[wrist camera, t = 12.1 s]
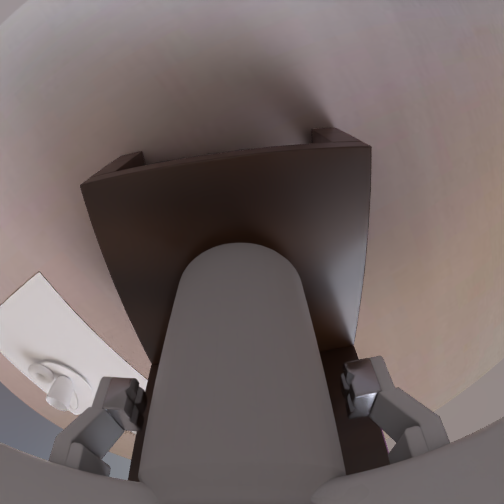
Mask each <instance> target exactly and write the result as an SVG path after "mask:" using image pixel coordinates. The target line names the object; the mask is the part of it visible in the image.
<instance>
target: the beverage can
mask: <svg viewBox="0 0 504 504" xmlns="http://www.w3.org/2000/svg"><path fill="white" fill-rule="evenodd" d="M341 476H346V472H345V467H344V462H343V456H342V452H341V447H340V442H339V437H338V432H337V427H336V423H335V418H334V414H333V409H332V404H331V400H330V396H329V391H328V387H327V382H326V378H325V374H324V370H323V365H322V361H321V357H320V353H319V349H318V345H317V341H316V337H315V333H314V329H313V325H312V321H311V317H310V313H309V309H308V305H307V301H306V297H305V294H304V290H303V286H302V282H301V279H300V277H299V275H298V272H297V271H296V269H295V268H294V266H293V265H292V264H291V263H290V262H289V261H288V260H287V259H286V258H284V257H283V256H282V255H280V254H279V253H277V252H276V251H274V250H272V249H270V248H267V247H264V246H261V245H257V244H252V243H228V244H223V245H219V246H216V247H213V248H211V249H209V250H207V251H205V252H203V253H201V254H200V255H199V256H197V257H196V258H195V259H194V260H193V261H192V262H191V263H190V264H189V265H188V266H187V267H186V269H185V271H184V272H183V274H182V276H181V279H180V282H179V286H178V289H177V293H176V297H175V301H174V305H173V309H172V312H171V316H170V320H169V324H168V329H167V333H166V337H165V341H164V345H163V350H162V354H161V358H160V363H159V367H158V372H157V376H156V381H155V386H154V390H153V395H152V400H151V405H150V410H149V415H148V421H147V426H146V431H145V437H144V443H143V449H142V454H141V461H140V467H139V473H138V478H139V481H140V482H142V483H145V484H146V485H147V486H148V487H149V488H150V489H151V490H152V491H153V492H154V493H155V494H156V496H157V498H158V503H157V504H316V503H313V502H312V501H311V498H312V496H313V494H314V493H315V492H316V490H317V489H318V488H319V487H320V486H322V485H323V484H324V483H326V482H327V481H329V480H330V479H332V478H336V477H341Z"/></svg>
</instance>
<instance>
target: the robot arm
mask: <svg viewBox="0 0 504 504" xmlns="http://www.w3.org/2000/svg"><path fill="white" fill-rule="evenodd" d="M342 369H343V372H344V373H343V374H342V375H341V379H340V383H341V392H342V396H343V397H344V398H345V399H347V400H346V404H345V407H346V411H347V415H348V419H354V418H359V417H364V416H369V417H370V418H371V419H372V420H373V421H374V422H375V423H376V424H377V425H378V426H379V427H380V428H381V429H382V430H384V431H385V432H386V433H387V434H388V435H389V436H390V437H391V438H392V439H393V440H394V441H395V442H396V445H395V446H394V447H393V449H392V450H391V451H390V453H389V454H388V457H389V461H390V465H386V466H383V467H379V468H376V469H372V470H368V471H364V472H360V473H355V474H351V475H346V476H341V477H336V478H332V479H330V480H329V481H327V482H326V483H324V484H323V485H322V486H320V487H319V488H318V489H317V490H316V492H315V493H314V494H313V496H312V498H311V501H312V502H313V503H316V504H504V417H502V418H501V419H499V420H497V421H495V422H493V423H492V424H490V425H488V426H486V427H484V428H482V429H480V430H478V431H476V432H474V433H472V434H469V435H467V436H465V437H463V438H461V439H458V440H456V441H454V442H451V443H450V441H449V439H448V436H447V434H446V431H445V429H444V426H443V423H442V421H441V418H440V416H438V415H437V414H435V413H434V412H432V411H431V410H430V409H428V408H427V407H425V406H424V405H423V404H421V403H420V402H418V401H417V400H415V399H414V398H413V397H411V396H410V395H408V394H407V393H406V392H404V391H403V390H401V389H400V388H399V387H398V388H395V387H394V384H393V382H392V379H391V377H390V374H389V372H388V369H387V367H386V364H385V362H384V359H383V357H382V356H376V357H371V358H365V359H360V360H355V361H350V362H345V363H344V364H343V367H342ZM146 408H147V396H146V392H145V391H144V389H142V388H141V387H139V382H138V380H137V379H136V378H120V377H105V376H103V377H102V378H101V380H100V383H99V386H98V389H97V392H96V395H95V398H94V401H93V404H92V407H88V408H87V409H86V410H85V411H84V412H83V413H82V414H80V415H79V416H78V417H77V418H76V419H75V420H74V421H73V422H72V423H71V424H70V425H68V426H67V427H66V428H65V429H64V430H63V431H62V432H61V433H60V434H59V435H57V436H56V438H55V441H54V444H53V448H52V451H51V454H50V458H49V461H47V460H44V459H41V458H38V457H36V456H33V455H30V454H27V453H25V452H22V451H20V450H17V449H15V448H12V447H10V446H8V445H5V444H3V443H1V442H0V504H157V503H158V498H157V496H156V494H155V493H154V492H153V491H152V490H151V489H150V488H149V487H148V486H147V485H146V484H145V483H142V482H135V481H129V480H123V479H118V478H112V477H109V474H110V466H109V465H108V464H106V463H105V462H103V461H102V460H101V459H102V458H103V457H104V456H105V455H106V453H107V452H108V451H109V450H110V448H111V447H112V446H113V445H114V444H115V442H116V441H117V440H118V439H119V437H120V436H121V435H122V434H123V432H124V430H128V431H142V428H143V423H144V417H143V415H142V413H143V412H144V411H145V410H146Z"/></svg>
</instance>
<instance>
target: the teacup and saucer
mask: <svg viewBox="0 0 504 504" xmlns="http://www.w3.org/2000/svg"><path fill="white" fill-rule="evenodd" d="M27 373H28V374H29V376H30V377H31V378H32V379H33V380H35V381H36V382H38V383H41V384H45V385H48V386H49V387H50V388H49V390H48V392H47V396H46V401H47V402H48V403H49V404H50V405H51V406H53V407H54V408H56V409H58V410H61V411H67V410H70V411H74V412H76V411H77V410H78V409H79V408H80V401H88V400H90V399H91V398H92V397H93V396H94V391H93V389H92V387H91V385H90V384H89V383H88V382H87V381H86V380H85V379H84V378H83V377H82V376H81V375H80V374H78V373H77V372H75V371H74V370H72V369H71V368H69V367H67V366H65V365H63V364H60V363H57V362H54V361H42V362H41V363H31V364H30V365H29V366H28V367H27ZM72 399H73V400H76V408H72V406H71V401H72Z"/></svg>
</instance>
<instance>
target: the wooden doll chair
mask: <svg viewBox="0 0 504 504" xmlns="http://www.w3.org/2000/svg"><path fill="white" fill-rule="evenodd" d="M80 188H81V191H82V195H83V198H84V201H85V205H86V208H87V211H88V214H89V217H90V220H91V223H92V226H93V229H94V232H95V235H96V238H97V241H98V243H99V246H100V249H101V252H102V254H103V257H104V260H105V262H106V265H107V267H108V270H109V272H110V275H111V277H112V280H113V282H114V285H115V287H116V289H117V292H118V294H119V297H120V299H121V301H122V303H123V306H124V308H125V310H126V312H127V315H128V317H129V319H130V321H131V323H132V325H133V327H134V330H135V332H136V334H137V336H138V338H139V340H140V342H141V344H142V346H143V348H144V350H145V352H146V354H147V356H148V358H149V360H150V362H151V363H152V365H151V369H150V373H149V378H148V382H147V386H146V391H145V392H146V396H147V408H146V410H145V411H144V412H143V413H142V415H143V417H144V423H143V428H142V431H137V433H136V438H135V443H134V448H133V454H132V459H131V465H130V471H129V478H128V480H129V481H135V482H140V481H139V478H138V473H139V467H140V461H141V454H142V449H143V443H144V437H145V431H146V426H147V421H148V415H149V410H150V405H151V400H152V395H153V390H154V386H155V381H156V376H157V372H158V367H159V363H160V358H161V354H162V350H163V345H164V341H165V337H166V333H167V329H168V324H169V320H170V316H171V312H172V309H173V305H174V301H175V297H176V293H177V289H178V286H179V282H180V279H181V276H182V274H183V272H184V271H185V269H186V267H187V266H188V265H189V264H190V263H191V262H192V261H193V260H194V259H195V258H196V257H197V256H199V255H200V254H201V253H203V252H205V251H207V250H209V249H211V248H213V247H216V246H219V245H223V244H228V243H252V244H257V245H261V246H264V247H267V248H270V249H272V250H274V251H276V252H277V253H279V254H280V255H282V256H283V257H284V258H286V259H287V260H288V261H289V262H290V263H291V264H292V265H293V266H294V268H295V269H296V271H297V272H298V275H299V277H300V279H301V282H302V286H303V290H304V294H305V297H306V301H307V305H308V309H309V313H310V317H311V321H312V325H313V329H314V333H315V337H316V341H317V345H318V349H319V353H320V357H321V361H322V365H323V370H324V374H325V378H326V382H327V387H328V391H329V396H330V400H331V404H332V409H333V414H334V418H335V423H336V427H337V432H338V437H339V442H340V447H341V452H342V456H343V462H344V467H345V472H346V475H351V474H355V473H360V472H364V471H368V470H372V469H376V468H379V467H383V466H386V465H390V461H389V457H388V451H387V447H386V444H385V440H384V437H383V433H382V430H381V428H380V427H379V426H378V425H377V424H376V423H375V422H374V421H373V420H372V419H371V418H370V417H369V416H364V417H359V418H354V419H348V415H347V411H346V407H345V404H346V400H347V399H345V398H344V397H343V396H342V392H341V383H340V379H341V375H342V374H343V373H344V372H343V369H342V367H343V364H344V363H345V362H350V361H355V360H359V359H358V356H357V353H356V350H355V348H354V341H355V335H356V329H357V323H358V316H359V309H360V303H361V295H362V288H363V279H364V271H365V262H366V251H367V240H368V228H369V213H370V193H371V146H370V145H368V144H366V143H364V142H362V141H360V140H359V139H357V138H355V137H353V136H351V135H349V134H347V133H345V132H343V131H341V130H339V129H337V128H314V129H312V144H298V145H286V146H274V147H264V148H254V149H246V150H237V151H229V152H222V153H214V154H207V155H201V156H194V157H188V158H182V159H176V160H170V161H165V162H160V163H154V164H149V165H145V162H144V158H143V153H142V151H140V152H136V153H131V154H127V155H122V156H120V157H119V158H117V159H116V160H114V161H113V162H111V163H110V164H108V165H107V166H105V167H104V168H102V169H101V170H100V171H98V172H97V173H95V174H94V175H93V176H91V177H90V178H89V179H87V180H86V181H85V182H83V183H82V184H81V185H80Z"/></svg>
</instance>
